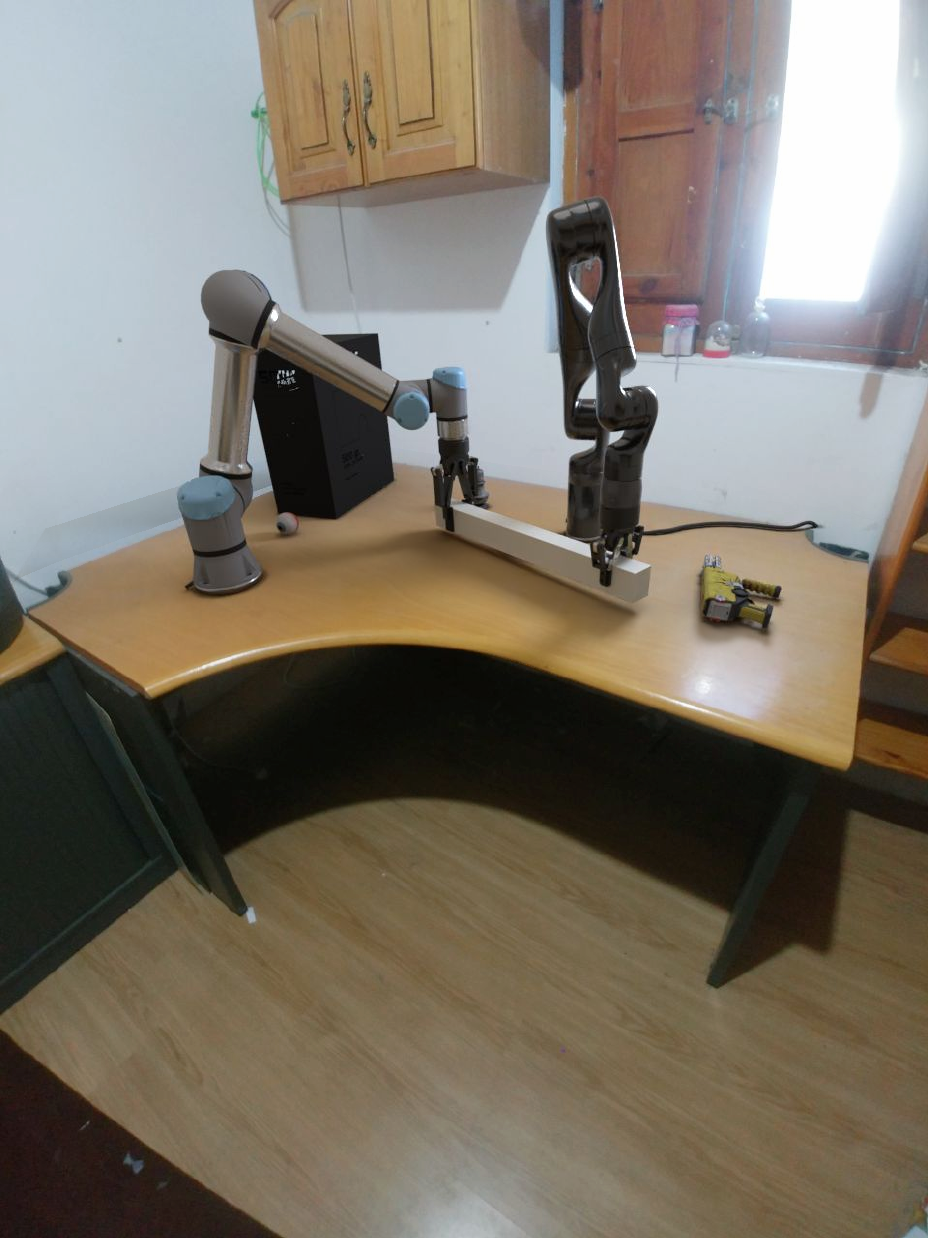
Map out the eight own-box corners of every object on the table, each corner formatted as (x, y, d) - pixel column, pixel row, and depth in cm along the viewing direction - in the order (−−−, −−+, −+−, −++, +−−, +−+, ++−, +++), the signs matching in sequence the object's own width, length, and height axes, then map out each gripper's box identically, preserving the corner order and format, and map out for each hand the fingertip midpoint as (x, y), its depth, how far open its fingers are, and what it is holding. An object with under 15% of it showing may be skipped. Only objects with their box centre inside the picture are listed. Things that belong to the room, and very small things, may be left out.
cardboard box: (342, 476, 210) (320, 334, 188) (394, 479, 204) (377, 333, 181) (277, 513, 180) (242, 349, 158) (336, 518, 174) (308, 348, 151)
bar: (648, 595, 119) (651, 565, 116) (632, 603, 117) (635, 573, 113) (450, 520, 162) (449, 497, 159) (436, 525, 160) (434, 501, 157)
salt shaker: (488, 509, 173) (486, 468, 167) (468, 509, 175) (466, 468, 169) (491, 503, 178) (490, 462, 172) (471, 502, 180) (470, 462, 174)
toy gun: (779, 564, 127) (705, 551, 131) (794, 614, 107) (705, 598, 111) (772, 584, 129) (699, 571, 133) (786, 637, 109) (699, 620, 113)
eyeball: (273, 537, 164) (268, 516, 161) (287, 528, 169) (282, 508, 166) (291, 539, 161) (286, 518, 158) (305, 530, 166) (301, 510, 163)
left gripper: (471, 427, 152) (475, 515, 164) (413, 441, 143) (422, 533, 154) (491, 431, 147) (494, 521, 159) (432, 446, 138) (440, 541, 149)
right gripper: (627, 486, 119) (621, 564, 128) (579, 504, 112) (576, 586, 120) (660, 494, 114) (651, 575, 123) (612, 514, 107) (605, 599, 115)
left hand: (458, 527), depth 157 cm, fingers closed on bar, 5 cm apart
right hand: (614, 580), depth 121 cm, fingers closed on bar, 5 cm apart
